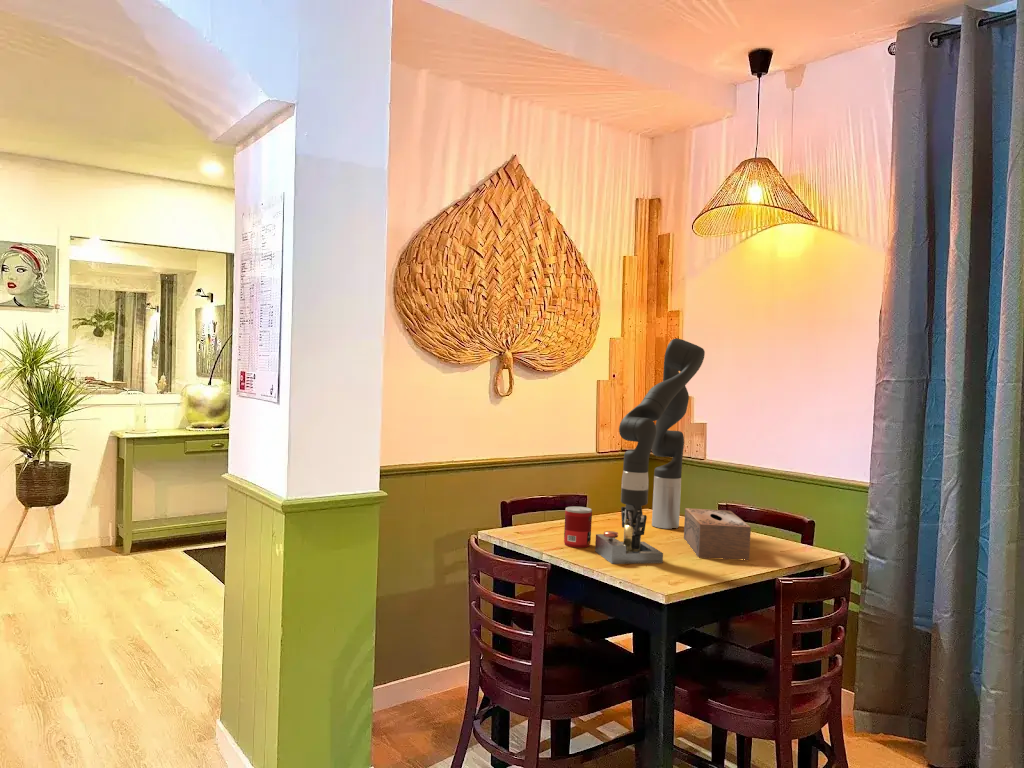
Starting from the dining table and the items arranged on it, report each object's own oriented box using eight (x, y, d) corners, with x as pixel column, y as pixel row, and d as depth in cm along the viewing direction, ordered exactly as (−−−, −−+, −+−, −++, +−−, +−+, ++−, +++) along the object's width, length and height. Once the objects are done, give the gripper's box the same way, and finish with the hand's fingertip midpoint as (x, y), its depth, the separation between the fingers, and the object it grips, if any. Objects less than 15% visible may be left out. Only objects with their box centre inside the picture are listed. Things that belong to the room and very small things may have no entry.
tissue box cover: (749, 561, 220) (750, 527, 220) (698, 558, 221) (700, 524, 221) (728, 541, 246) (730, 510, 246) (683, 539, 247) (685, 508, 247)
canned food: (593, 548, 227) (595, 511, 227) (567, 548, 226) (568, 510, 226) (586, 542, 235) (588, 506, 235) (561, 542, 233) (562, 506, 233)
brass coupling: (620, 547, 220) (621, 523, 220) (636, 547, 221) (637, 523, 221) (626, 551, 215) (627, 527, 215) (642, 551, 216) (643, 527, 216)
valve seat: (595, 551, 223) (596, 527, 223) (643, 550, 226) (644, 527, 226) (611, 563, 209) (612, 538, 209) (662, 563, 213) (663, 538, 213)
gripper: (657, 491, 212) (654, 552, 212) (637, 483, 226) (634, 540, 226) (631, 491, 210) (628, 553, 210) (613, 483, 224) (610, 540, 224)
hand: (631, 546), depth 218 cm, fingers closed on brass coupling, 4 cm apart
